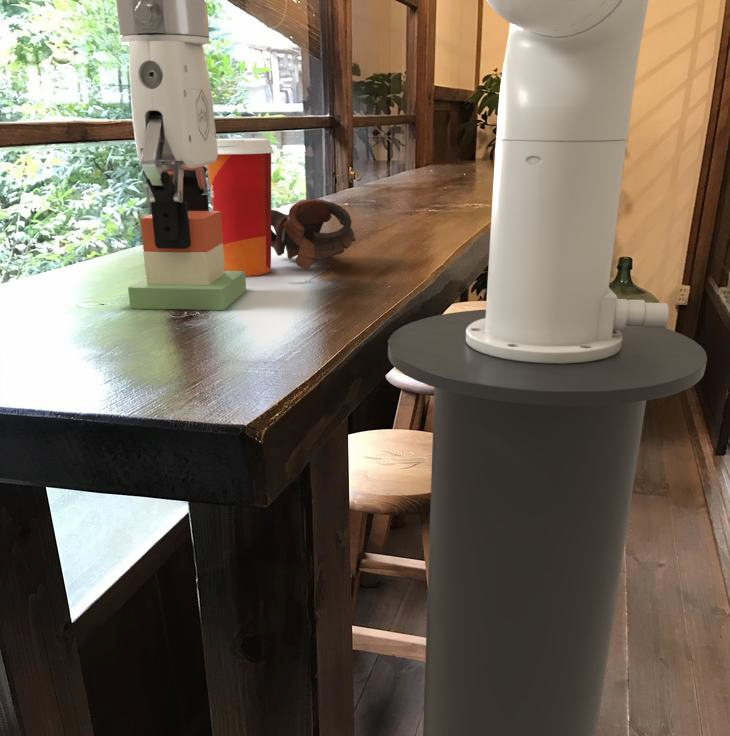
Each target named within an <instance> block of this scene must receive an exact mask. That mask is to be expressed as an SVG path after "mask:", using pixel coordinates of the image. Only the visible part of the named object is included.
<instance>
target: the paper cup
mask: <svg viewBox="0 0 730 736" xmlns="http://www.w3.org/2000/svg"><path fill="white" fill-rule="evenodd" d="M216 139H217V149H218V157H217V159H216V161H215V162H214V163H212V164H210V165H206V170H207V177H208V183H209V191H210V198H211V207H212V211H220V212H221V224H222V237H223V253H224V266H225V271H245V277H252V276H261V275H265V274H269V273H270V272H271V267H272V246H271V230H272V225H271V210H272V153H275V151H274V149H272V146H271V142H270V141H271V140H270V139H269V138H259V137H250V138H247V137H245V138H241V137H240V138H239V137H238V138H232V137H231V138H216Z"/></svg>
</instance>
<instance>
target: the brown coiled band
mask: <svg viewBox="0 0 730 736" xmlns="http://www.w3.org/2000/svg"><path fill="white" fill-rule="evenodd" d="M333 216H334V217H335V218H336V219H337V220H338V221H339V224H340V225H341V226H342V227H341V228H340V229H338V230H335V231H333V232H321V230H322V228H323V225H324V223H328V222H330V220H331V219H332V217H333ZM271 227H272V228H273V229H274V231H273V229H271V248H273V250H274V252H275V253H276V255H277V256H278V257H279V256H282V255H284V254H285V250H286V255H287V259H288V260H292V259H293V258H294V257H296V258H295V262H296V265H297V266H298V267H300V268H301V269H304V270H305V271H308V270H309V269H310V268H311V267H312V265H313V263H314V262H319V261H322V260H325V259H328V258H331V257H334V256H335V257H336V256H338V255H341V254H344V253H345V249H349V248H350V246H351V244H352V243H353V242H356V236H355V233H354V231H353V228H352V218H351V216H350V214H349V212H348V211H347V210H346V209H345V208H343V207H342V206H340V205H339V204H337V203H335V202H333V201H328V200H325V199H320V198H307V199H302V200H299V201H297V202H296V203H294V204H293V205H291V207H290V208H289V211H288V214H286V213H285V214H284V213H282V212H281V211H279V210H276V209H271Z"/></svg>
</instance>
